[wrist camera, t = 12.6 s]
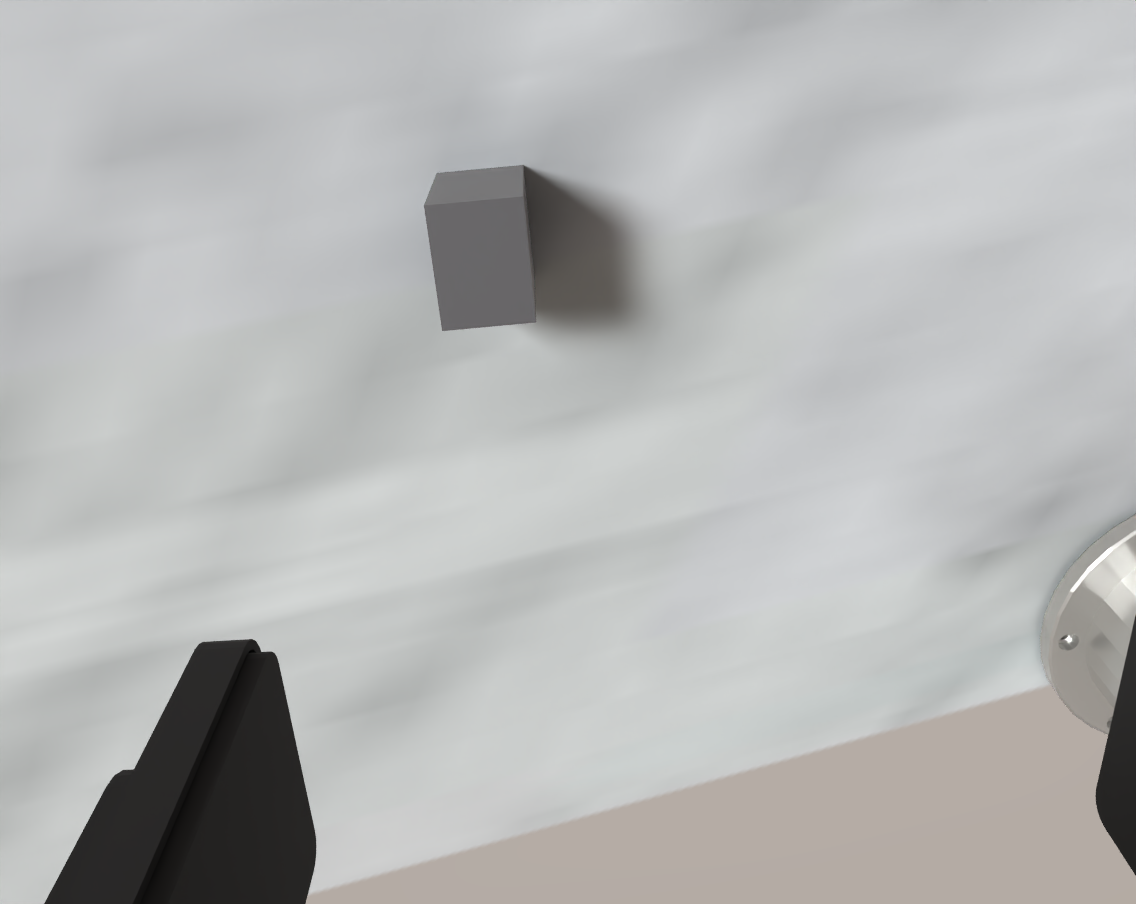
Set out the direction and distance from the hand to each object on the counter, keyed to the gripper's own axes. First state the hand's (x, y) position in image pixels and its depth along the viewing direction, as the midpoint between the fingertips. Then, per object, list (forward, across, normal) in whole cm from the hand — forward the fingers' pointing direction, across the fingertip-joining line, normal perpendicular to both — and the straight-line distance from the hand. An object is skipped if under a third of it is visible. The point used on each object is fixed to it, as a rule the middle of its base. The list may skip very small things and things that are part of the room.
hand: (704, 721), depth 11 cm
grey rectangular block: (+27, +4, +1) cm, 28 cm away
